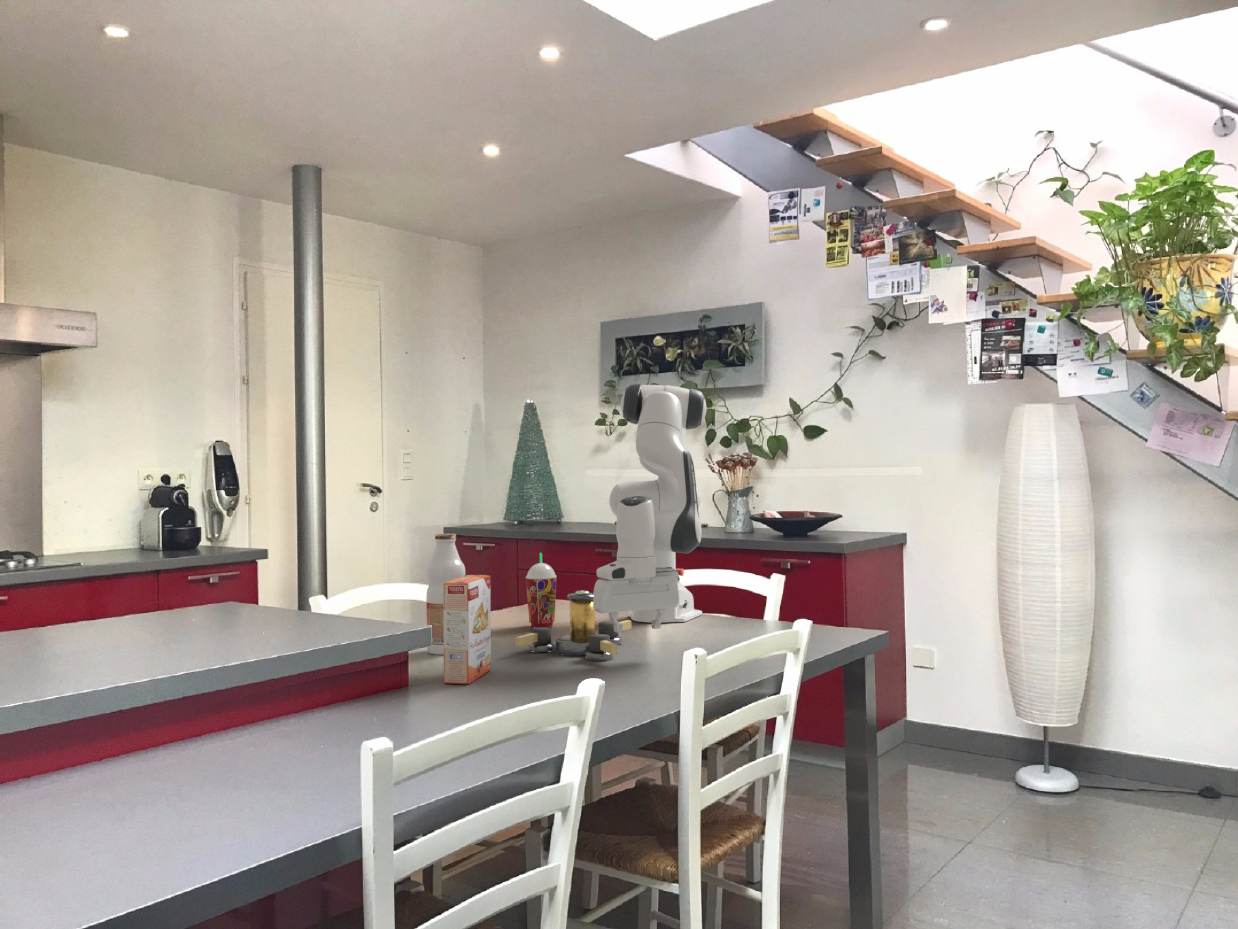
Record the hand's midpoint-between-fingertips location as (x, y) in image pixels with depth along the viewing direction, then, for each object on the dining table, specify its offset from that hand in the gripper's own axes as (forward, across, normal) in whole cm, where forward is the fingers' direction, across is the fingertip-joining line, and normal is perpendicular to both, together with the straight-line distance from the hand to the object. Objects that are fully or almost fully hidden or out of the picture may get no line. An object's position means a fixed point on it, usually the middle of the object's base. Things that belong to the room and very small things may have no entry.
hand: (637, 630), depth 222 cm
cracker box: (+7, +39, -1) cm, 40 cm away
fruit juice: (+7, +36, -30) cm, 47 cm away
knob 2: (+5, +7, -2) cm, 9 cm away
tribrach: (+6, +5, -17) cm, 19 cm away
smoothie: (+6, +4, -52) cm, 52 cm away
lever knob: (+4, -4, -22) cm, 23 cm away
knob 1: (+5, +18, -19) cm, 27 cm away
